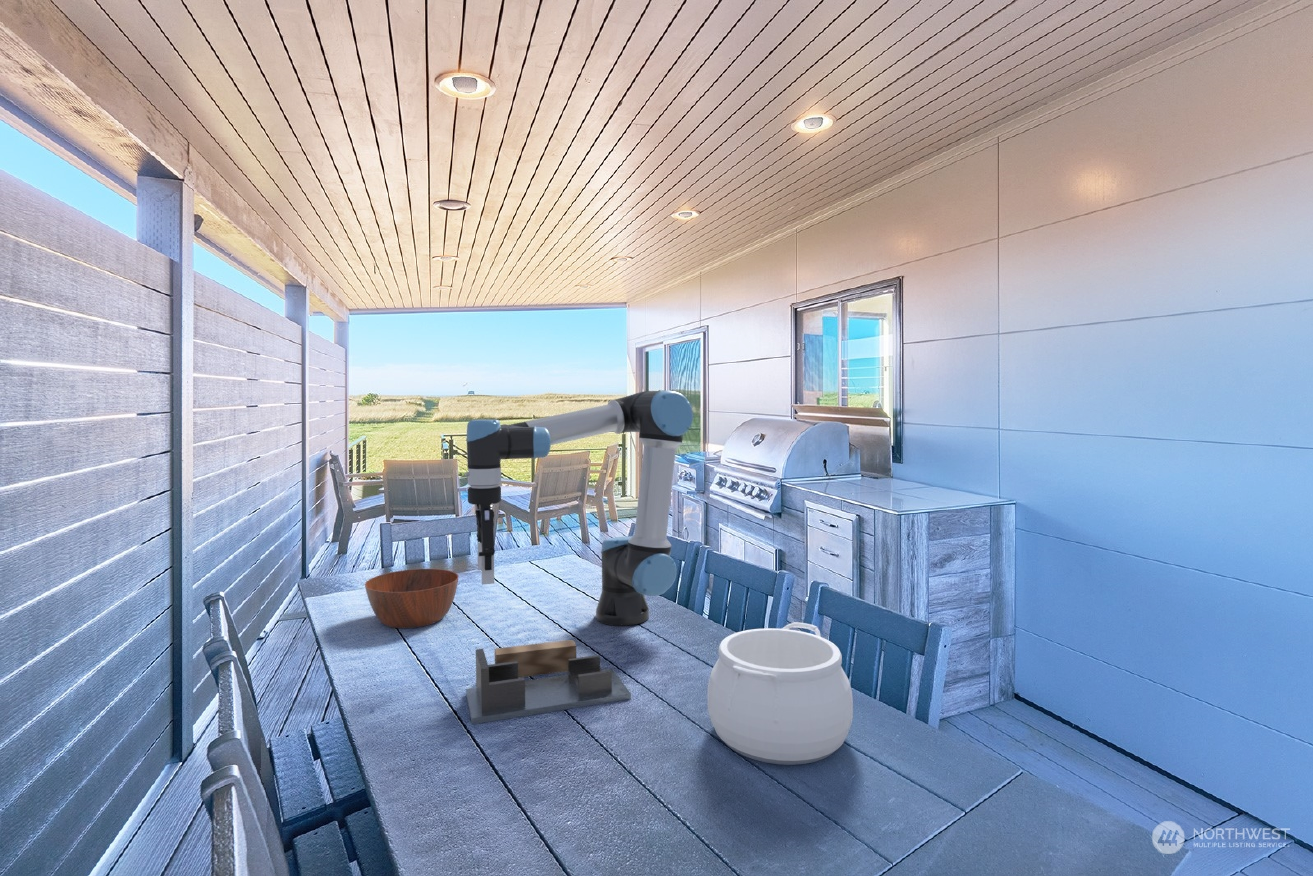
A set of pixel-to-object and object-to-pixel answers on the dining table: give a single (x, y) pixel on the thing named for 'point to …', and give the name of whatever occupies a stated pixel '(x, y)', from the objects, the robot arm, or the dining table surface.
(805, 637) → the pot
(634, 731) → the dining table surface
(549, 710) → the block fixture
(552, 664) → the rail
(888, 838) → the dining table surface
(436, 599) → the bowl
